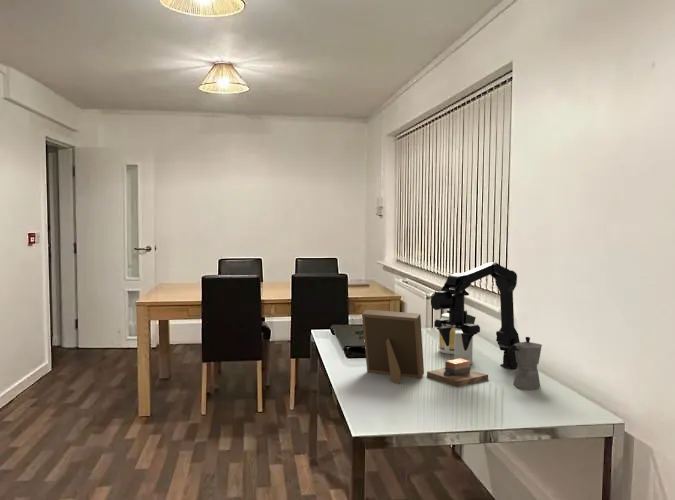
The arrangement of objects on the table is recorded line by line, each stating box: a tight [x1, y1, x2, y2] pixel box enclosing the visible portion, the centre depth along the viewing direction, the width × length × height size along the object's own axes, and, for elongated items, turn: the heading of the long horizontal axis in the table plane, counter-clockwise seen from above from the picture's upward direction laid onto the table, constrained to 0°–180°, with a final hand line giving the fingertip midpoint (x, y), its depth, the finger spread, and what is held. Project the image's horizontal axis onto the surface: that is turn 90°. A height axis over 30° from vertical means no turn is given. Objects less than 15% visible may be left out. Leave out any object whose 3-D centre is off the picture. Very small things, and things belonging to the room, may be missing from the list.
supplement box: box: [453, 330, 474, 365], centre depth 245 cm, size 7×7×13 cm
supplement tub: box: [438, 312, 466, 355], centre depth 262 cm, size 12×12×17 cm
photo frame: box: [361, 309, 425, 385], centre depth 220 cm, size 15×22×25 cm
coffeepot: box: [508, 336, 543, 391], centre depth 208 cm, size 15×9×18 cm, turn 116°
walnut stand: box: [426, 367, 489, 388], centre depth 219 cm, size 16×16×2 cm
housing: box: [444, 358, 471, 376], centre depth 219 cm, size 5×10×5 cm, turn 124°
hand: (456, 348), depth 222 cm, fingers open, 9 cm apart
